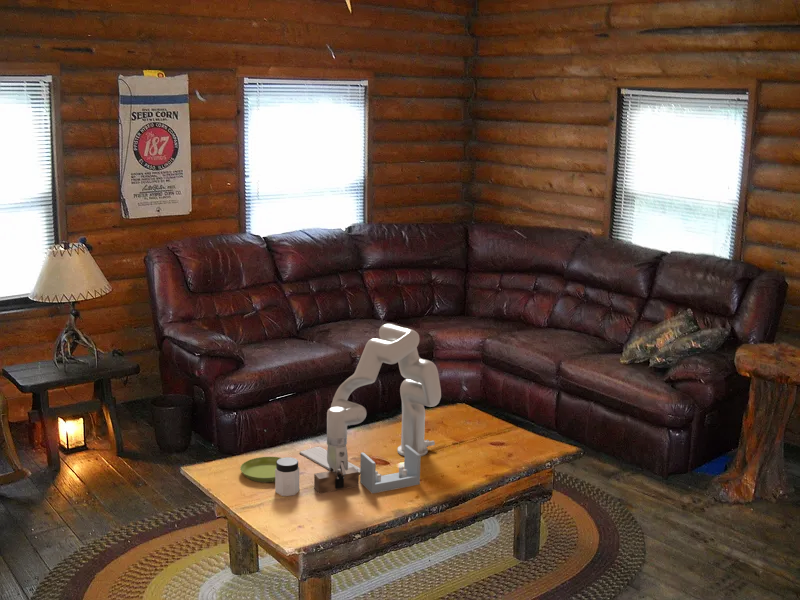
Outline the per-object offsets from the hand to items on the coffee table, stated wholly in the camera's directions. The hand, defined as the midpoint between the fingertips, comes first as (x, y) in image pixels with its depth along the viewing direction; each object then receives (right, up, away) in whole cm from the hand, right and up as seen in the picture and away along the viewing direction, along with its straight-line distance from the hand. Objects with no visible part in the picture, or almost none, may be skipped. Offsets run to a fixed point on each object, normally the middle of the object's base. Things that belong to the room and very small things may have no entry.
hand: (336, 484), depth 346 cm
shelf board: (0, -1, 0) cm, 1 cm away
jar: (-18, -2, -4) cm, 19 cm away
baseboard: (-3, +4, +23) cm, 24 cm away
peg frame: (+20, 0, +5) cm, 21 cm away
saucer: (-28, +2, +11) cm, 30 cm away
